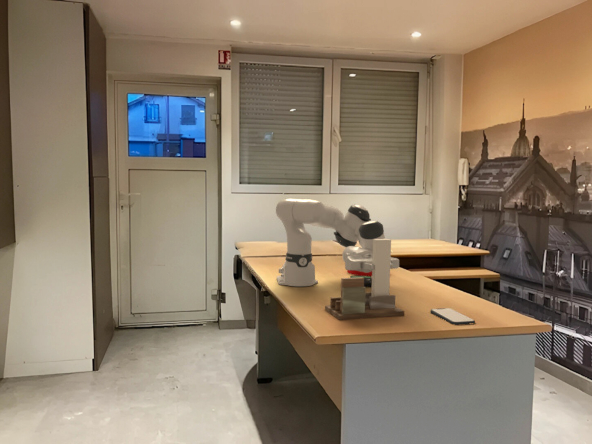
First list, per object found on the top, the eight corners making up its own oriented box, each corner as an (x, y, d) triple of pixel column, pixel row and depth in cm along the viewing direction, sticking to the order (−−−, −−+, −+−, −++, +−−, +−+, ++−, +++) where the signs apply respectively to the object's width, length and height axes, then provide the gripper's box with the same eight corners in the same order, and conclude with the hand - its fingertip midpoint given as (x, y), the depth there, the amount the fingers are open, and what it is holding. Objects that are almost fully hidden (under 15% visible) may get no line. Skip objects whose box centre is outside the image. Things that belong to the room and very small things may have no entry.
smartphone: (476, 325, 159) (450, 311, 175) (477, 321, 159) (450, 307, 175) (453, 327, 157) (428, 313, 172) (453, 322, 157) (428, 308, 172)
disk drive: (373, 288, 212) (371, 281, 227) (374, 282, 212) (371, 275, 227) (350, 287, 213) (349, 280, 228) (350, 281, 213) (349, 275, 227)
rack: (324, 309, 173) (325, 293, 172) (385, 305, 180) (386, 290, 180) (339, 319, 160) (339, 302, 159) (404, 315, 167) (404, 298, 167)
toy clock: (356, 265, 235) (341, 259, 254) (356, 277, 235) (341, 270, 254) (392, 264, 240) (375, 258, 259) (392, 276, 241) (375, 269, 260)
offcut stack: (340, 312, 164) (341, 278, 163) (361, 310, 167) (362, 277, 166) (343, 314, 161) (344, 279, 160) (364, 313, 164) (365, 279, 163)
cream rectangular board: (371, 298, 173) (373, 239, 171) (385, 297, 175) (387, 238, 173) (374, 300, 171) (376, 240, 169) (388, 299, 173) (391, 239, 171)
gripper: (388, 267, 188) (407, 274, 175) (341, 269, 182) (356, 276, 168) (389, 252, 187) (407, 257, 174) (342, 253, 181) (357, 259, 168)
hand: (382, 267), depth 171 cm, fingers closed on cream rectangular board, 6 cm apart
